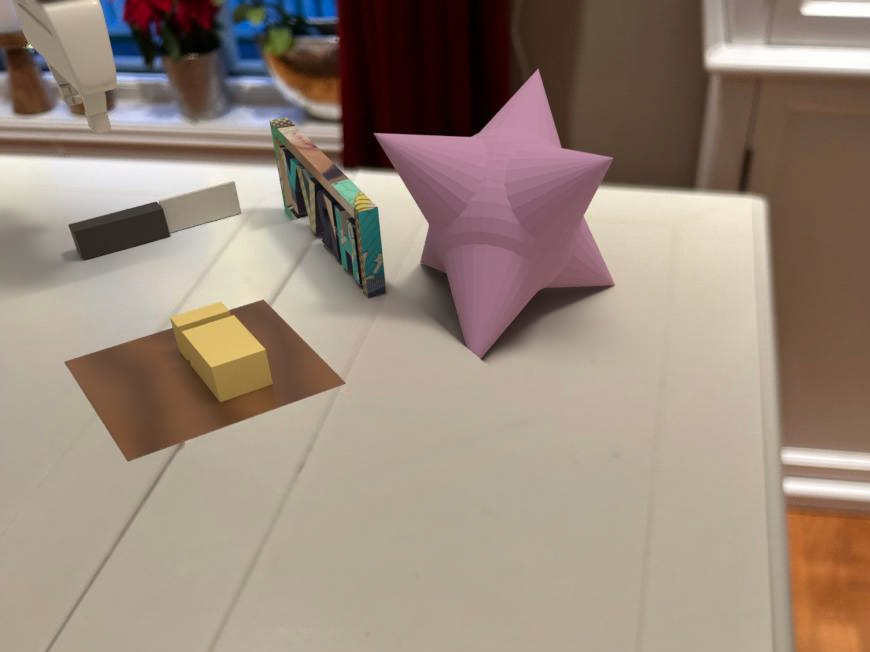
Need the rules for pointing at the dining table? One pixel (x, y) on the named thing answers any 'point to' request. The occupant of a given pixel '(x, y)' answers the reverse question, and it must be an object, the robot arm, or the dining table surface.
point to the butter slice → (196, 321)
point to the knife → (153, 220)
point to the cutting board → (192, 384)
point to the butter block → (227, 358)
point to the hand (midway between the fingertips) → (87, 116)
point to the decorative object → (503, 211)
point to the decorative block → (329, 205)
